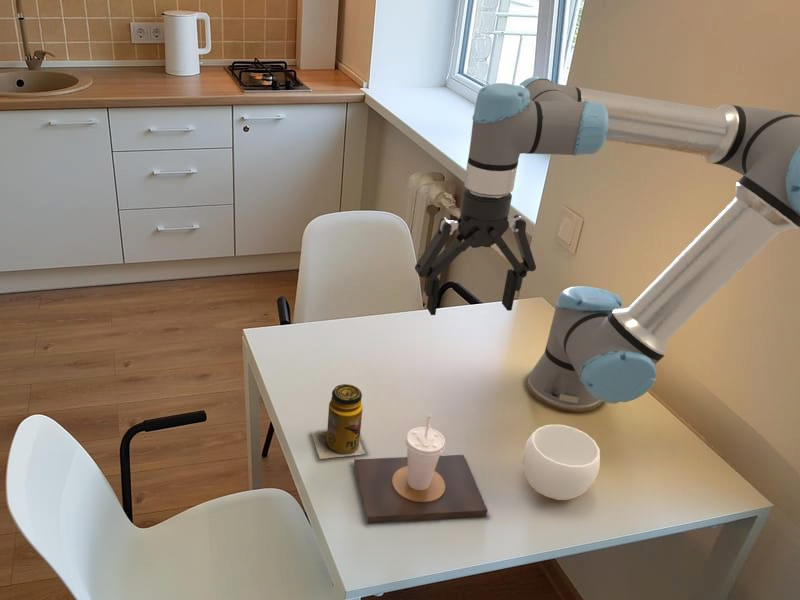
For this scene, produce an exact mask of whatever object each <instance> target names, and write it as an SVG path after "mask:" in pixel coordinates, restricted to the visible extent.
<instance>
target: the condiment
mask: <svg viewBox="0 0 800 600" xmlns="http://www.w3.org/2000/svg"><path fill="white" fill-rule="evenodd" d="M362 397H363V394H362V391H361V389H360V388H359V387H357V386H355V385H354V384H353V385H352V384H347V383H342V384H339V385H337V386H335V387H334V388H333V390H332V391H331V399H330V401H329V403H328V415H327V417H328V418H327V427H326V428H327V430H326V431H315V432H311V437H312V440H313V443H314V446H315V450H316V452H317V455H318V457H319V460H324V459H330V458H333V459H334V458H342V457H343V458H345V457H352V456H361V455H365V454H366V452H365V450H364V447H363V445H362V443H361V441H360V440H361V439H360V438H361V428H362V418H363V417H362V416H363V411H364V410H363V403H362Z"/></svg>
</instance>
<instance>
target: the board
mask: <svg viewBox="0 0 800 600" xmlns="http://www.w3.org/2000/svg"><path fill="white" fill-rule="evenodd" d="M353 469H354V472H355V473H354V474H355V477H356V480H357V485H358V489H359V494H360V498H361V502H362V506H363V510H364V514H365V519H366V522H367V523H366V524H380V523H398V522H413V521H417V522H418V521H431V520H432V521H433V520H434V521H435V520H450V519H467V518H485V517H487V514H488V507H487V506H486V504H485V501H484V499H483V497H482V494H481V492H480V490H479V487H478V485H477V483H476V480H475V478H474V476H473V473H472V471H471V468H470V467H469V464H468V461H467V460H466V457H465V455H464V454H440V456H439V459H438V462H437V465H436V467H435V470H434V473H433V476H432V479H431V482H430V485H429V487H428V488H427V489H425V490H415V489H413V488H411V487H410V486H409V484H408V456H400V457H397V456H396V457H379V458H378V457H377V458H376V457H375V458H355V459H354V460H353Z"/></svg>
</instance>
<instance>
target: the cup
mask: <svg viewBox="0 0 800 600" xmlns="http://www.w3.org/2000/svg"><path fill="white" fill-rule="evenodd" d="M600 466H601V450H600V448H599V446H598V443H597V442H596V441H595V439H594V438H592V437H591V436H590V435H588V434H587V433H586V432H584V431H581V430H580V429H578V428H576V427H573V426H570V425H569V426H568V425H565V424H545V425H543V426H539V427H538V428H536V429H535V430H534V432H532V433H531V434H530V436H529V438H528V439H527V441H526V444H525V447H524V451H523V455H522V468H523V474H524V476H525V479H526V480H527V482H528V483H529V485H530V486H531V488H533V489H534V490H535V491H536V492H537V493H539V494H541V495H542V496H544V497H546V498H549V499H553V500H556V501H569V500H572V499H575V498H577V497H579V496H582V495H584V494H585V493H586V491H587V490H588V489H589V488H590V487H591V486H592V484H593V483H594V482H595V481H596V480H597V477H598V474H599V472H600V469H601V467H600Z"/></svg>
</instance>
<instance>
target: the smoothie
mask: <svg viewBox="0 0 800 600" xmlns="http://www.w3.org/2000/svg"><path fill="white" fill-rule="evenodd" d="M431 417H432V415H431V414H427V416H426V422H425V426H418V427H415V428H412V429H410V430H409V431H408V432H407V433H406V438H405V445H406V446H407V450H406V451H407V457H408V484H409V486H410V487H411V488H413V489H415V490H425V489H427V488H428V487H429V485H430V482H431V479H432V476H433V473H434V470H435V467H436V465H437V462H438V459H439V456H440V455H441V453H442V452H443V451H444V450H445V446H446V439H445V437H444V435H443V434H442V433H441V432H440V431H438V430H436V429H434V428H431V427H430V424H431Z"/></svg>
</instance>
